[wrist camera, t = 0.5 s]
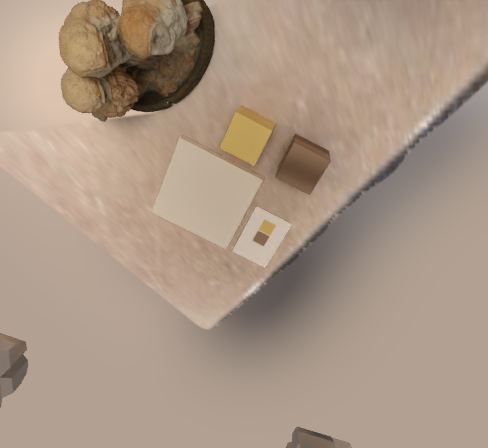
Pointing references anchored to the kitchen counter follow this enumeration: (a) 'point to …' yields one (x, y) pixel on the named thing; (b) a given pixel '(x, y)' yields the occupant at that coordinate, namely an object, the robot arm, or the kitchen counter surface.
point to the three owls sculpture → (134, 54)
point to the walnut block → (303, 164)
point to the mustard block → (247, 135)
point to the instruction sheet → (261, 237)
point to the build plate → (205, 192)
